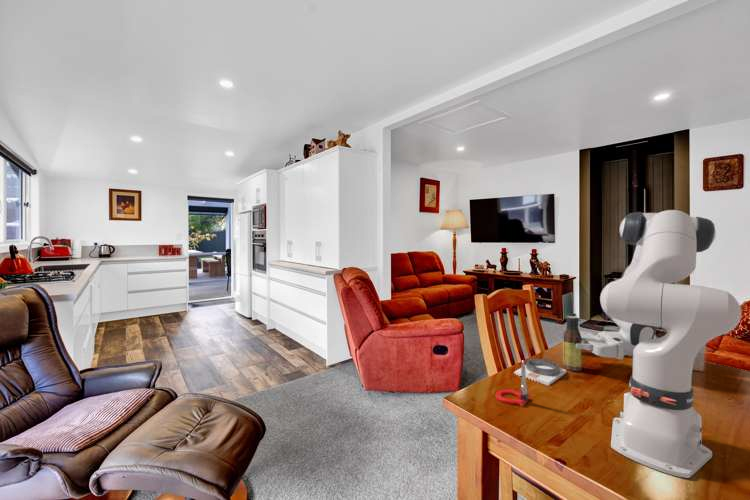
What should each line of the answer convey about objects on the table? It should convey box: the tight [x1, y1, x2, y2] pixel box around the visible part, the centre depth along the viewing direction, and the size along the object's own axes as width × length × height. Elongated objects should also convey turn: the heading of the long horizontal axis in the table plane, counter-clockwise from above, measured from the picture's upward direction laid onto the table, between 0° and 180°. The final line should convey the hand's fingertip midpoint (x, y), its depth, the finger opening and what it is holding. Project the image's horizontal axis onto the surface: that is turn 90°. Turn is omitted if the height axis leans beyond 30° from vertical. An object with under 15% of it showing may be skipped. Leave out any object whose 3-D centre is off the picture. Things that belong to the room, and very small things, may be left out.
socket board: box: [513, 358, 567, 386], centre depth 121 cm, size 16×12×3 cm
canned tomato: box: [603, 325, 626, 357], centre depth 142 cm, size 8×8×11 cm
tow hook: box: [495, 359, 531, 407], centre depth 103 cm, size 8×13×9 cm
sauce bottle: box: [562, 315, 583, 372], centre depth 126 cm, size 7×6×20 cm
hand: (570, 342), depth 126 cm, fingers closed on sauce bottle, 6 cm apart
